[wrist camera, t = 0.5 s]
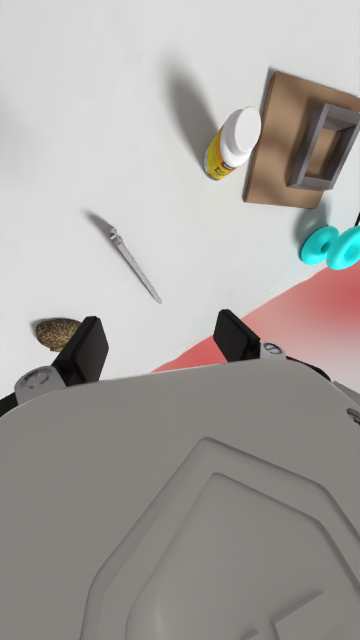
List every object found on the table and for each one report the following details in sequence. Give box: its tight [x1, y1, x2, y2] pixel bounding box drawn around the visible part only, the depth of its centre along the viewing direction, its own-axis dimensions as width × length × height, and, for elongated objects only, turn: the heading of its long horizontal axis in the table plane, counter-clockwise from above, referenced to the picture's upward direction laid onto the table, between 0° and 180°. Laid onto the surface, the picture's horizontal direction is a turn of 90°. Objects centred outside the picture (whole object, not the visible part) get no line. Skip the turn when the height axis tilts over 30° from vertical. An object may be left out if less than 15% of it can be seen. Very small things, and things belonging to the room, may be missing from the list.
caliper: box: [108, 228, 162, 304], centre depth 32 cm, size 20×1×6 cm, turn 26°
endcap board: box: [244, 71, 360, 209], centre depth 27 cm, size 16×20×4 cm
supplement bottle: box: [204, 106, 261, 181], centre depth 23 cm, size 6×6×10 cm
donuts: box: [301, 225, 360, 270], centre depth 37 cm, size 10×10×10 cm
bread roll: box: [36, 319, 81, 352], centre depth 38 cm, size 13×12×5 cm
